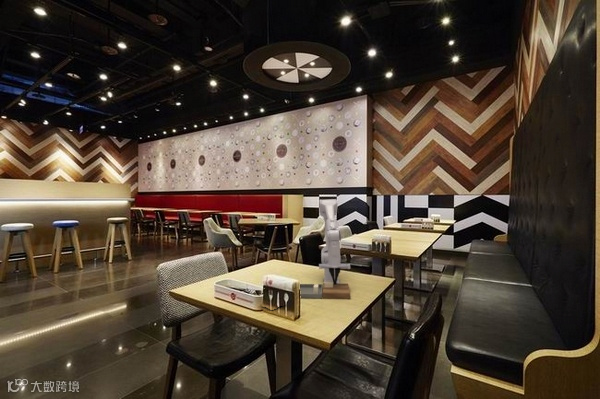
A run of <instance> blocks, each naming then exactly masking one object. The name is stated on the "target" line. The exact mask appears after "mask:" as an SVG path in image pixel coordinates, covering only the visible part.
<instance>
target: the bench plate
mask: <svg viewBox="0 0 600 399" xmlns="http://www.w3.org/2000/svg"><path fill="white" fill-rule="evenodd" d="M322 284H323V292H322V300H351V290H350V286H349V283H341V282H339V283H337V285H334V284H333V287H324V282H323V283H322Z"/></svg>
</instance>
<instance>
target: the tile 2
mask: <svg viewBox="0 0 600 399" xmlns="http://www.w3.org/2000/svg"><path fill="white" fill-rule="evenodd" d="M323 283H324V287H333V281H324V280H323Z"/></svg>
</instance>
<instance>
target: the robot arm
mask: <svg viewBox="0 0 600 399" xmlns="http://www.w3.org/2000/svg"><path fill="white" fill-rule="evenodd" d="M338 207H339V206H338V200H337V199H336V198H335V199H333V198H331V199H330V198H329V199H319V201H318V209H319V215H320V216H321V217H323V221H324V233H325V234H324V235H325V237H324V238H325V246H324V247H323V248H321V253H320V255H321V256H320V257H321V263H318V269H319V270H323V269H324V270H323V271H324V273H323V274H324V278H323V282H324V281H333V284H334V285H337V283H340V277H339V275H340V273H341V269H345V270H346V269H347V270H350V269H351V263H341V260H342V258H341V257H342V256H341V241H342V233H341V229H340V227H339V224H338V220H337V219H336V218H335V217H336V216H337V213H338Z"/></svg>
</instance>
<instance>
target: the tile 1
mask: <svg viewBox="0 0 600 399" xmlns="http://www.w3.org/2000/svg"><path fill="white" fill-rule="evenodd" d="M313 284H314V294H319V286H318V284H319V283H313Z"/></svg>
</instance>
